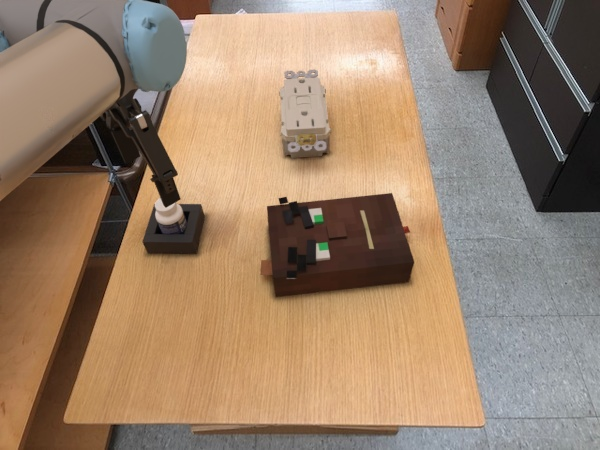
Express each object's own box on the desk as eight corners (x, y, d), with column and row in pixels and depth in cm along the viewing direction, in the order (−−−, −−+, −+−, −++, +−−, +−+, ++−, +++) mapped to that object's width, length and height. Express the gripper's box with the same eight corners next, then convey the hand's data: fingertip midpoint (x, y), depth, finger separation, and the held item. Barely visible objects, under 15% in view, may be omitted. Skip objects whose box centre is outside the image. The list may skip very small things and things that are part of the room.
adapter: (196, 254, 90) (192, 242, 87) (148, 253, 91) (141, 241, 88) (205, 216, 96) (201, 203, 93) (159, 215, 97) (154, 203, 94)
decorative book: (430, 263, 78) (258, 282, 77) (422, 286, 84) (263, 304, 83) (402, 184, 90) (254, 199, 89) (397, 209, 96) (258, 223, 95)
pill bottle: (190, 242, 92) (178, 212, 84) (163, 246, 92) (149, 215, 84) (190, 222, 95) (179, 191, 88) (165, 225, 95) (151, 194, 88)
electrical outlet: (323, 95, 121) (323, 63, 113) (332, 174, 105) (334, 144, 96) (280, 97, 121) (277, 66, 113) (283, 177, 105) (280, 147, 96)
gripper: (178, 91, 52) (212, 210, 69) (90, 18, 65) (136, 133, 81) (119, 118, 50) (169, 236, 66) (39, 36, 62) (98, 152, 78)
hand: (151, 179), depth 74 cm, fingers open, 13 cm apart
